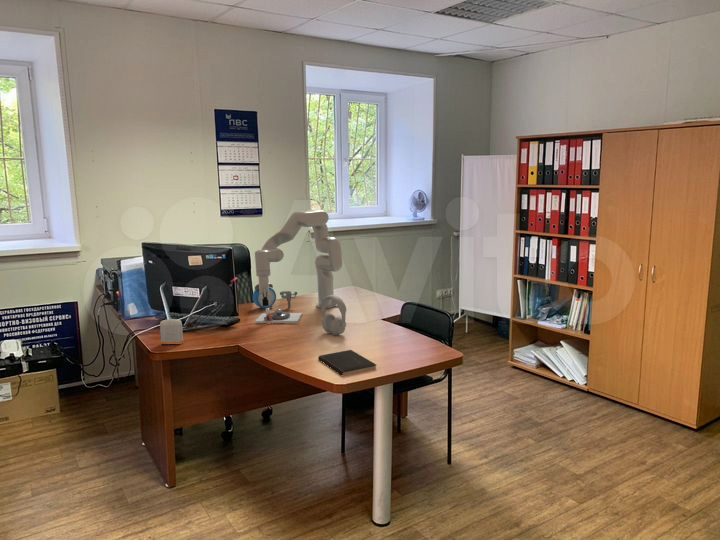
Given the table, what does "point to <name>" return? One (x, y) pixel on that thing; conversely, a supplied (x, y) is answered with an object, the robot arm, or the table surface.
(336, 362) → the hardcover book
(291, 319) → the base plate
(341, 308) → the headphones
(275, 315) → the flange
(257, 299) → the alarm clock
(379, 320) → the table surface
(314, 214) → the robot arm
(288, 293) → the mechanical component
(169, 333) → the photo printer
